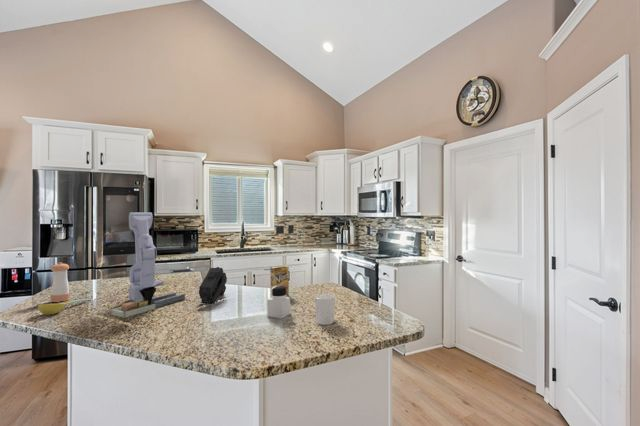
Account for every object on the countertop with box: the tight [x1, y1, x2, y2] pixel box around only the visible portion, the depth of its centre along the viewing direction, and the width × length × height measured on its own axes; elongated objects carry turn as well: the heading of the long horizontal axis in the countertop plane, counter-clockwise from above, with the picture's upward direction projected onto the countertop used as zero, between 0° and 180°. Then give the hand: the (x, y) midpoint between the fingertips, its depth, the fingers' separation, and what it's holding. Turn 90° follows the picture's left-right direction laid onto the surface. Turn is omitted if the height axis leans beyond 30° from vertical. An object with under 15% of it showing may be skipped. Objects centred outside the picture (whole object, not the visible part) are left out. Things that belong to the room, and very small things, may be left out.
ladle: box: [37, 298, 92, 316], centre depth 140 cm, size 9×26×6 cm, turn 179°
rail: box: [151, 292, 187, 309], centre depth 144 cm, size 10×16×4 cm, turn 154°
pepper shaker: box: [50, 262, 71, 303], centre depth 152 cm, size 7×7×19 cm
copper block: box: [121, 301, 137, 312], centre depth 130 cm, size 4×4×4 cm
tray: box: [110, 304, 156, 319], centre depth 131 cm, size 9×13×3 cm
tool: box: [198, 266, 228, 304], centre depth 150 cm, size 7×21×16 cm, turn 174°
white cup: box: [314, 293, 336, 326], centre depth 119 cm, size 8×8×10 cm
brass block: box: [133, 299, 148, 309], centre depth 134 cm, size 4×4×4 cm
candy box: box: [269, 265, 290, 298], centre depth 159 cm, size 9×4×15 cm, turn 125°
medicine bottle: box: [266, 286, 291, 320], centre depth 128 cm, size 7×7×12 cm
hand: (147, 304), depth 137 cm, fingers closed
